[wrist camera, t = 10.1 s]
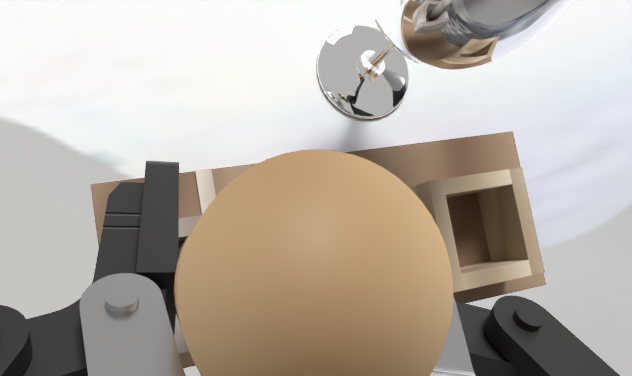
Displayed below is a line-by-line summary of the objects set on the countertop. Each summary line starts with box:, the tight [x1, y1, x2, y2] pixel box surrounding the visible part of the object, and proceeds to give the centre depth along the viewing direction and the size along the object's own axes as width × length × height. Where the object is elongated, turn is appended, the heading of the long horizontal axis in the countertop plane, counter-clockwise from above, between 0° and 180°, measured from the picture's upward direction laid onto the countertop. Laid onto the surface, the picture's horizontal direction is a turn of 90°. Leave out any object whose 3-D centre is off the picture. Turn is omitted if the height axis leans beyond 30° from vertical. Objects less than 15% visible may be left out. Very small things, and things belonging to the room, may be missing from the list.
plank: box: [91, 132, 546, 368], centre depth 21 cm, size 18×7×4 cm, turn 100°
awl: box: [174, 150, 453, 376], centre depth 12 cm, size 4×4×12 cm
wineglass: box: [317, 0, 573, 119], centre depth 19 cm, size 6×6×12 cm
